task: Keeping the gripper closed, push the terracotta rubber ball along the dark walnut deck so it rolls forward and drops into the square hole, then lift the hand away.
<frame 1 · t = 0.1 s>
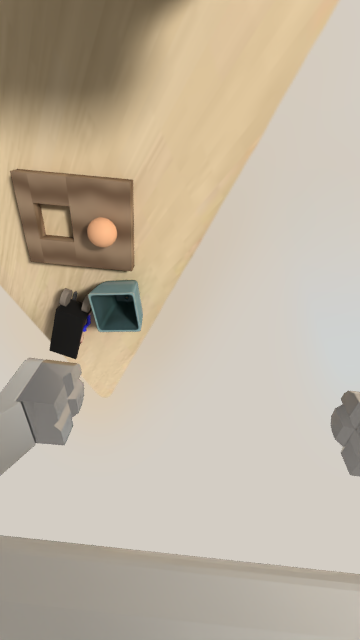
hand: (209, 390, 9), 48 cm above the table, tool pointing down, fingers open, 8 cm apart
figurine character: (79, 312, 67), on the table
rubber ball: (102, 232, 50), point 5 cm above the table, touching walnut deck
walnut deck: (80, 221, 55), on the table
flower pot: (125, 290, 63), on the table
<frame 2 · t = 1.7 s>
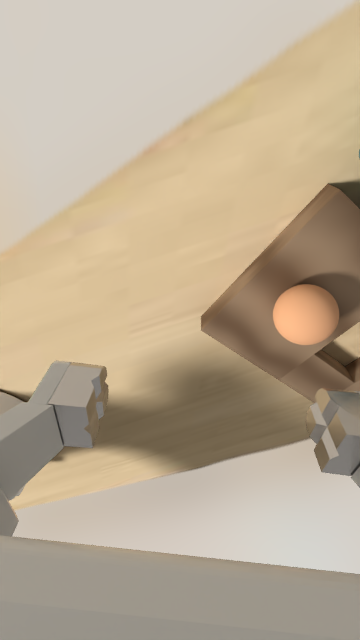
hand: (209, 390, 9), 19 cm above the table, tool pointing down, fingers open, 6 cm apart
rubber ball: (304, 314, 24), point 5 cm above the table, touching walnut deck
walnut deck: (327, 315, 30), on the table
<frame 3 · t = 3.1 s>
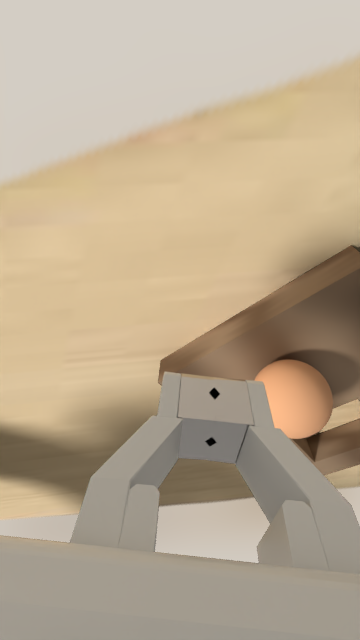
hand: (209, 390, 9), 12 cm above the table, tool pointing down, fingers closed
rubber ball: (290, 397, 19), point 5 cm above the table, touching walnut deck
walnut deck: (304, 386, 26), on the table
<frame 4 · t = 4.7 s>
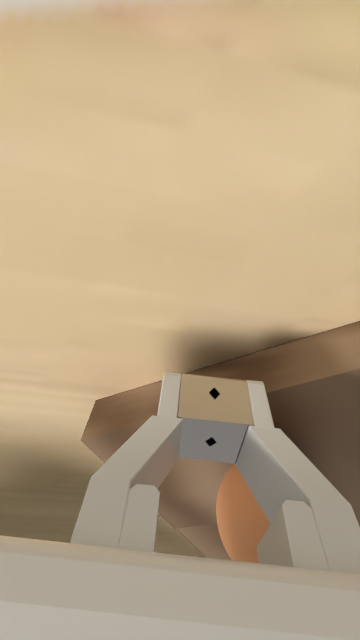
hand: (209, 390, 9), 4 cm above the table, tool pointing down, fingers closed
rubber ball: (275, 514, 12), point 5 cm above the table, touching walnut deck
walnut deck: (282, 465, 19), on the table
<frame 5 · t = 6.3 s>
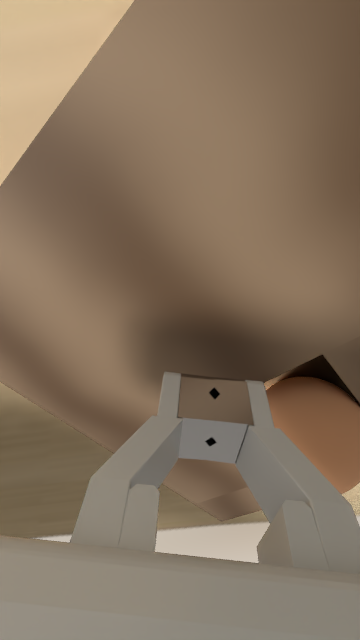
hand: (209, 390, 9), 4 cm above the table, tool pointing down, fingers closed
rubber ball: (307, 432, 13), point 2 cm above the table, tilted 106°
walnut deck: (230, 341, 14), on the table
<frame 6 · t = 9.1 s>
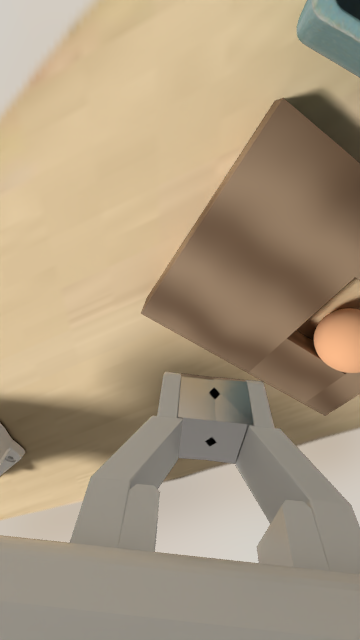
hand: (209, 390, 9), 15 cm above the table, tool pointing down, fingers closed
rubber ball: (349, 340, 23), point 2 cm above the table, tilted 118°
walnut deck: (302, 288, 23), on the table
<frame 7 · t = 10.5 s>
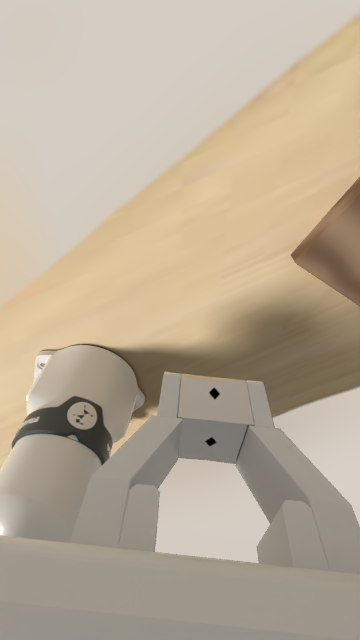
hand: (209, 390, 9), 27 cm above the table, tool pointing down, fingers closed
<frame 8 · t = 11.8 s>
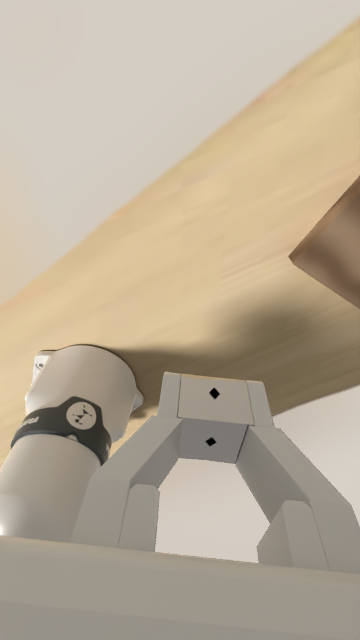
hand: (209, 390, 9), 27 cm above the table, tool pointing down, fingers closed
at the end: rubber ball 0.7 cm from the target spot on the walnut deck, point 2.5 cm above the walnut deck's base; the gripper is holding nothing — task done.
